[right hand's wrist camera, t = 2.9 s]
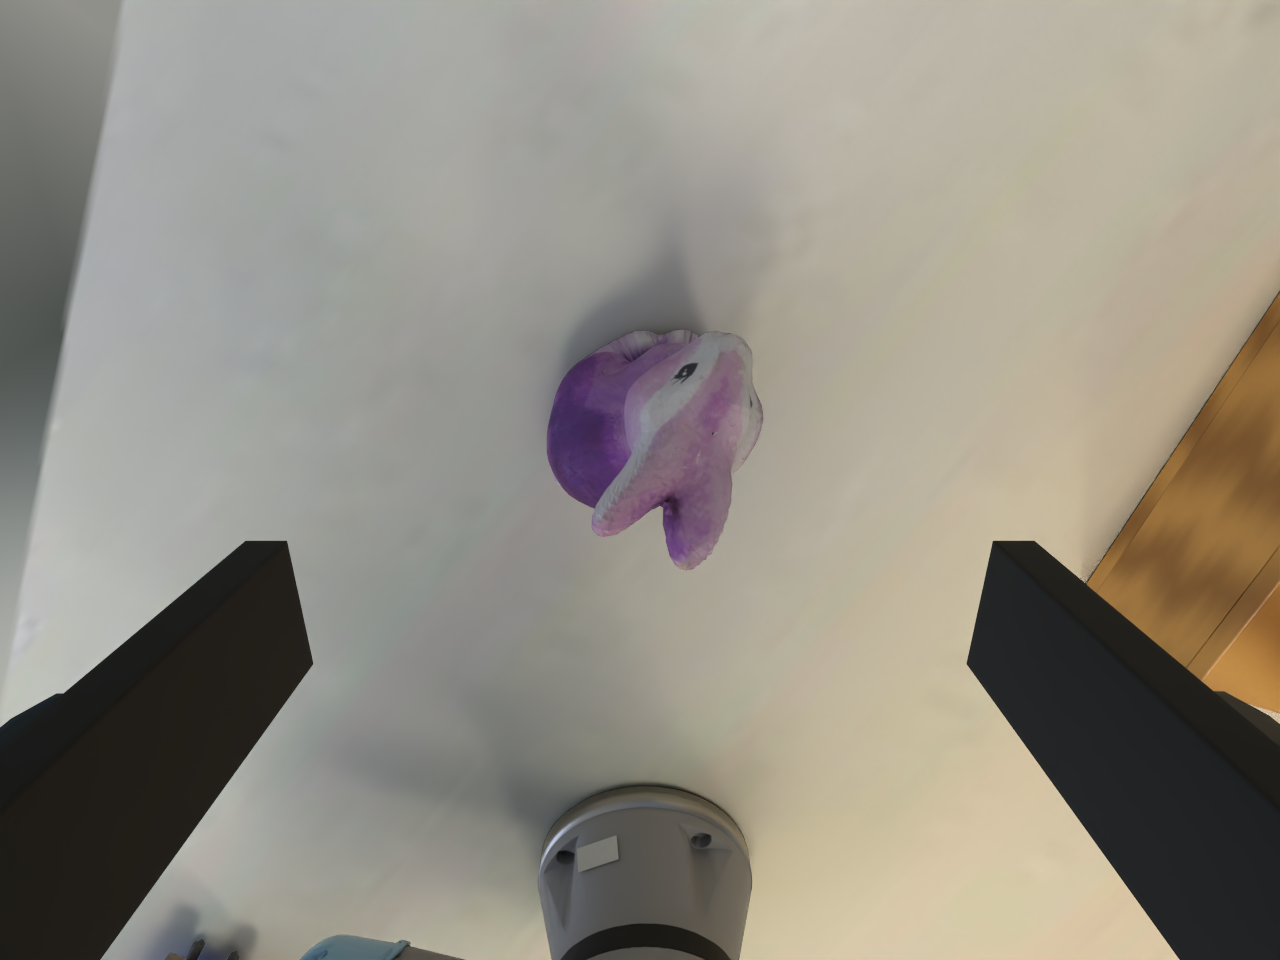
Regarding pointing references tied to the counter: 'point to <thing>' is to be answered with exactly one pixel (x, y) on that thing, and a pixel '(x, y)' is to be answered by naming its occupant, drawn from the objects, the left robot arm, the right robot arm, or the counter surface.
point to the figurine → (657, 434)
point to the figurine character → (195, 951)
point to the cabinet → (1214, 536)
